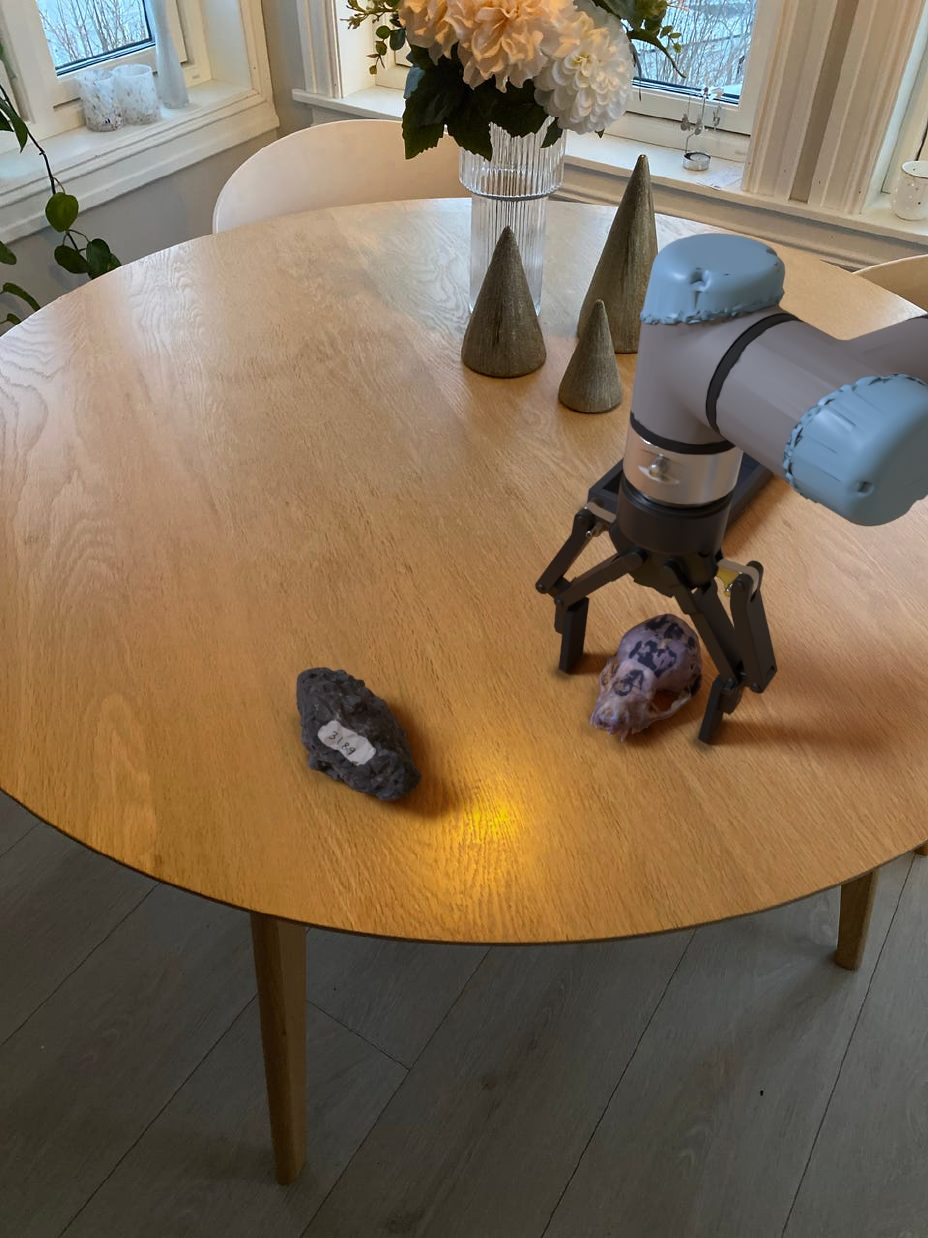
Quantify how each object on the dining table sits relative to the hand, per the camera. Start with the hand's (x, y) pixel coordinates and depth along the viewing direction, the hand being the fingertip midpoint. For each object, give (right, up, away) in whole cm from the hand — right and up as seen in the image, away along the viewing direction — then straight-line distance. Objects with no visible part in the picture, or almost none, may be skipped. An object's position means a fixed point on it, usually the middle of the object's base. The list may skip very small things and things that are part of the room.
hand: (637, 695), depth 79 cm
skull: (0, 0, 0) cm, 0 cm away
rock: (-23, -4, -4) cm, 23 cm away
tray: (+8, +19, +21) cm, 30 cm away
